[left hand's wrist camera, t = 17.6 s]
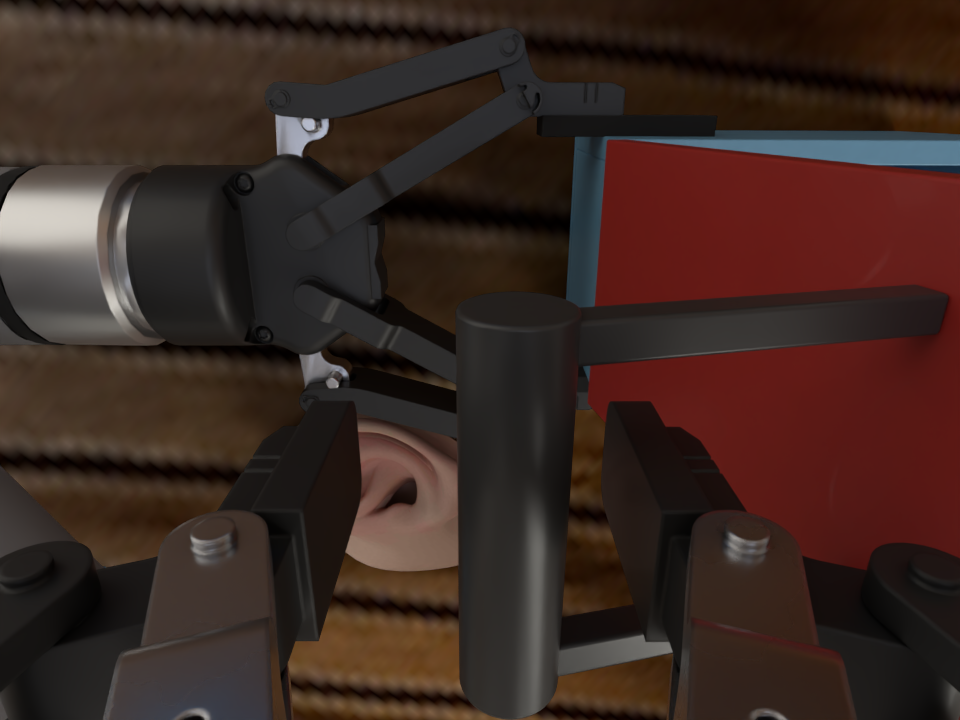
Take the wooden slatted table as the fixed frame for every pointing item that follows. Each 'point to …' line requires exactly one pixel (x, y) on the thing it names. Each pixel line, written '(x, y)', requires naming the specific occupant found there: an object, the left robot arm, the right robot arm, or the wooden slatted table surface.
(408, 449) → the anatomical model
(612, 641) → the lid
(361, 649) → the wooden slatted table surface
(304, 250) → the right robot arm
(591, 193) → the chest
